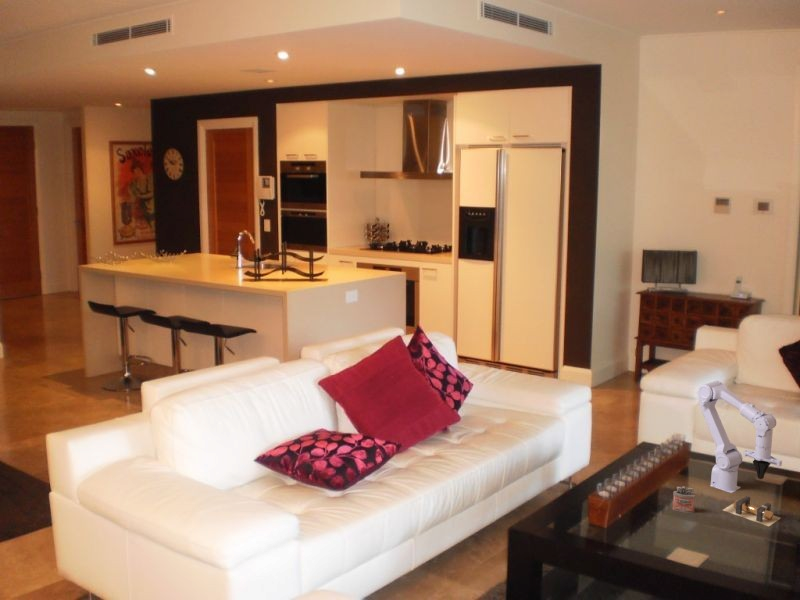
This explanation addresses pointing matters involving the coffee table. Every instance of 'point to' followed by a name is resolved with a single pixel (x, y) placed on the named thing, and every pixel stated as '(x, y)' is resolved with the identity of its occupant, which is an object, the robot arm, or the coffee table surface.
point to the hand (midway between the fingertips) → (760, 478)
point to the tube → (755, 510)
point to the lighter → (684, 500)
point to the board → (751, 516)
